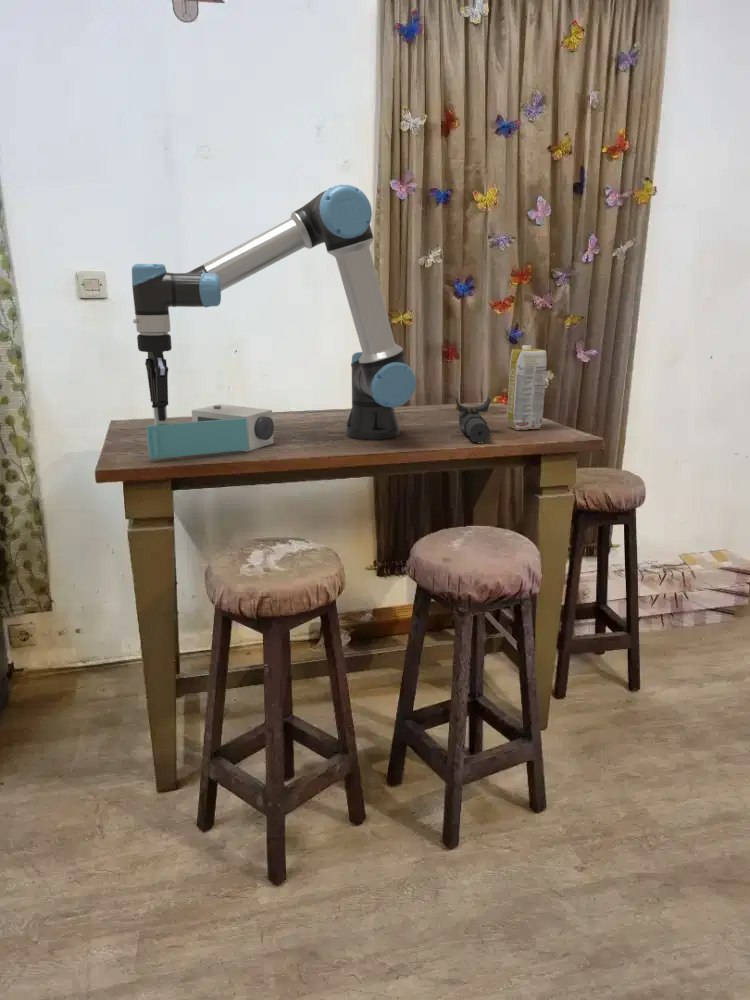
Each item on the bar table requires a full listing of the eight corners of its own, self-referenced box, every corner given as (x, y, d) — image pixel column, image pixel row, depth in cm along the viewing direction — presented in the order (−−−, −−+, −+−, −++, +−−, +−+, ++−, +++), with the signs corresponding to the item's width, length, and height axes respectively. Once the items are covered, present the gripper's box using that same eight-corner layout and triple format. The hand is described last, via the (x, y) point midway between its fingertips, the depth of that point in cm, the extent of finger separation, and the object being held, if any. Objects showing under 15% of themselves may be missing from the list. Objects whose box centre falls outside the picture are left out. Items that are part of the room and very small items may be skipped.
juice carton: (532, 424, 218) (537, 343, 211) (544, 430, 211) (551, 346, 204) (503, 426, 216) (508, 344, 209) (515, 431, 209) (520, 347, 202)
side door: (248, 448, 185) (247, 417, 182) (250, 450, 183) (249, 418, 181) (149, 458, 175) (146, 425, 173) (150, 460, 173) (147, 427, 171)
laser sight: (461, 444, 194) (462, 407, 191) (451, 427, 215) (452, 394, 212) (497, 444, 194) (499, 407, 191) (484, 427, 216) (485, 394, 213)
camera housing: (278, 444, 193) (276, 408, 191) (251, 452, 184) (249, 415, 181) (222, 436, 203) (219, 401, 200) (193, 443, 194) (191, 407, 191)
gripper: (131, 331, 172) (140, 429, 179) (142, 336, 161) (151, 440, 168) (163, 330, 175) (171, 427, 182) (176, 335, 164) (184, 437, 172)
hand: (161, 433), depth 175 cm, fingers closed
